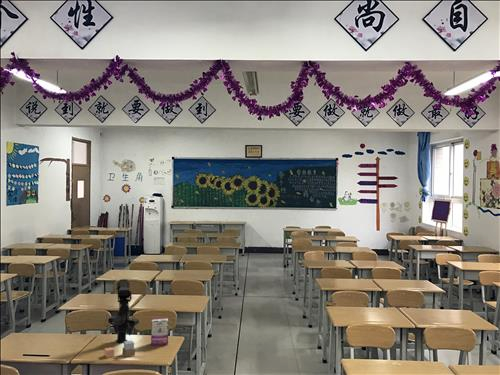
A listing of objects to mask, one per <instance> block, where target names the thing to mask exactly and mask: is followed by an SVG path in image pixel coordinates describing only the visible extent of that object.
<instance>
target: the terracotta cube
mask: <svg viewBox="0 0 500 375" xmlns="http://www.w3.org/2000/svg"><path fill="white" fill-rule="evenodd" d="M104 355H105V356H106V357H105V356H104V357H105V359H109V358H114V357H115V349H114V348H113V347H105V348H104Z"/></svg>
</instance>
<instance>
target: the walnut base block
mask: <svg viewBox="0 0 500 375" xmlns="http://www.w3.org/2000/svg"><path fill="white" fill-rule="evenodd" d="M121 353H122V354H121V355H122V356H124V357H125V358H128V357H134V356H135V355H136V349H135V348H134V349H132V350H127V351H126V350H125V349H124V347H122V352H121Z"/></svg>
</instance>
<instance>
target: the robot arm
mask: <svg viewBox="0 0 500 375" xmlns="http://www.w3.org/2000/svg"><path fill="white" fill-rule="evenodd" d="M116 291H117V303H118V311H117V312H116V313H117V314H116V315H112V316H110V317H108V319H107V323H108V324H109V325H111V326H112V327H113V329H114V333H115V334H116V338H117V339H115V342H116V343H117V344H122V343H124V342H125V341H128V339H127V334H128V336H131V334H132V332H133V330H134V328H135V326H137V325H139V324H140V321H139V319H138V318H131V319H130V316H129V313H130V305H129V302H131V300H132V292H131V290H130V281H128V279H126V278H123V279H119V281H118V282H116Z"/></svg>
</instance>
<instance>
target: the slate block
mask: <svg viewBox="0 0 500 375" xmlns="http://www.w3.org/2000/svg"><path fill="white" fill-rule="evenodd" d="M123 348H124V349H125V350H126V351H127V350H132V349H135V341H133V340H127V341H125V342H123Z"/></svg>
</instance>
